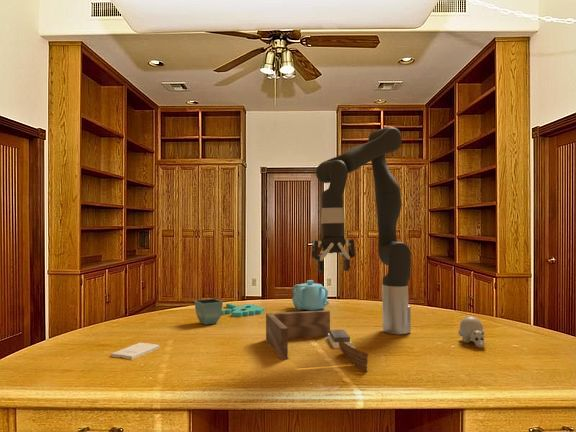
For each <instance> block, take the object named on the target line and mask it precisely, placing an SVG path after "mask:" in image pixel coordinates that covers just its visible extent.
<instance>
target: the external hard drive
mask: <svg viewBox="0 0 576 432" xmlns="http://www.w3.org/2000/svg"><path fill="white" fill-rule="evenodd" d="M158 348H159V349H160V345H159V344H154V343H147V342H138V343H136V344H133V345H130V346H127V347H125V348H122V349H120V350H117V351H115V352H112V353H110V357H113V358H119V359H125V358H126V360H134V358H135V359H137V358H139V357H141V355H142V356H144V355H146V353H147V354H149V353H151V352H154V351H156V350H158ZM153 350H154V351H153Z"/></svg>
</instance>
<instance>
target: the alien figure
mask: <svg viewBox="0 0 576 432" xmlns="http://www.w3.org/2000/svg"><path fill="white" fill-rule="evenodd" d="M225 308H226V309H222V312H221V316H225V315H231V317H234V318H235V317H237V318H238V317H239V318H242V317H248V316H255V315H262V314H263V313H265V307H262V306H260V305H255V304H251V303H245V304H243V305H240V306H239V305H236V304H234V303H232V302H231V303H228V302H227V303H226V304H225Z"/></svg>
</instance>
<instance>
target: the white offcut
mask: <svg viewBox="0 0 576 432" xmlns="http://www.w3.org/2000/svg"><path fill="white" fill-rule="evenodd" d="M327 337H328V339H329V341H330V342H331V344H332V345H331V344H330V345H331V347H332V346H333V347H332V348H333V349H334V348H340V346H339V342H334V340H333V339H332V337H331V336H330V333H329V334H328V336H327ZM344 343H345V344H347V345H348V346H350V347H352V344H353V342H352V341H351V339H350V342H344Z"/></svg>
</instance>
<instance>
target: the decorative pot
mask: <svg viewBox="0 0 576 432" xmlns="http://www.w3.org/2000/svg"><path fill="white" fill-rule="evenodd" d="M292 293H293V296H292V298H291V300H292V305H293V306H294V308H296V309H297V310H298V311H304V310H306V311H321V310H323V309H324V308H325V307H326V306H328V305H329V304H330V302H329V300H328V295H329V289H328V288H327V287H326V286H323V284H321V283H316V282H314V280H313V279H309V280H306V282H305V283H300V284H298V283H297V284H295V285H293V287H292Z"/></svg>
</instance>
